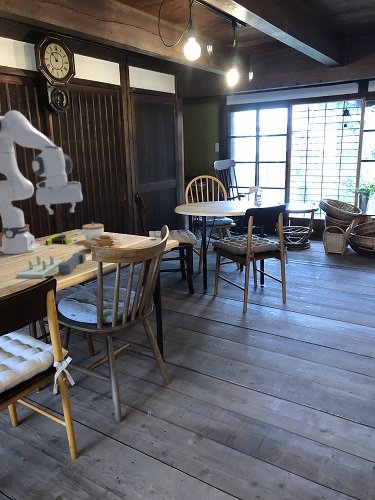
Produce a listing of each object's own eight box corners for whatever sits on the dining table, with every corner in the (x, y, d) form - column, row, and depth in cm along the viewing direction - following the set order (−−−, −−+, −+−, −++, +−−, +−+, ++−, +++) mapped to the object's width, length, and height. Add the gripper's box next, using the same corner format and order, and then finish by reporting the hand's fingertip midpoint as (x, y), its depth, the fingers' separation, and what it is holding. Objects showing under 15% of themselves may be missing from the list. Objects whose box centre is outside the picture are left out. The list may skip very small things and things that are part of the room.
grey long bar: (75, 260, 202) (75, 252, 201) (86, 260, 202) (85, 252, 201) (59, 273, 182) (58, 265, 181) (70, 273, 181) (69, 265, 180)
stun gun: (77, 233, 255) (54, 234, 256) (68, 240, 237) (43, 240, 237) (77, 238, 256) (54, 238, 256) (69, 245, 238) (43, 245, 238)
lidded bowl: (107, 237, 252) (105, 220, 249) (101, 242, 240) (99, 224, 237) (87, 237, 253) (86, 220, 251) (80, 242, 241) (78, 224, 238)
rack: (41, 262, 200) (40, 251, 199) (64, 262, 199) (63, 251, 198) (17, 277, 177) (15, 265, 176) (43, 277, 176) (41, 265, 175)
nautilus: (125, 246, 231) (119, 254, 217) (88, 244, 232) (80, 252, 218) (124, 233, 229) (119, 240, 214) (87, 231, 230) (79, 238, 215)
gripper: (82, 180, 184) (86, 210, 186) (37, 184, 184) (42, 214, 186) (78, 180, 178) (82, 212, 180) (32, 184, 178) (37, 215, 180)
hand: (61, 213), depth 183 cm, fingers open, 8 cm apart
